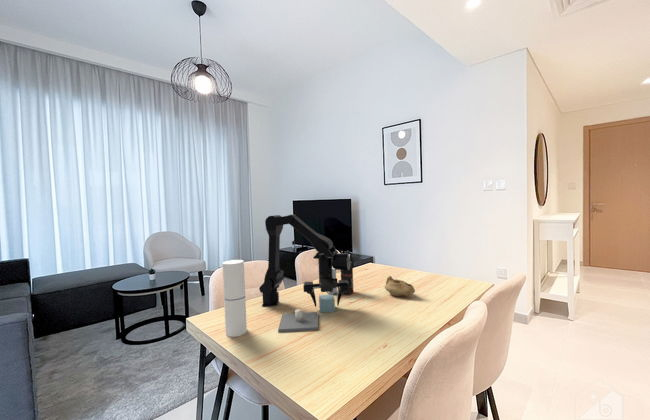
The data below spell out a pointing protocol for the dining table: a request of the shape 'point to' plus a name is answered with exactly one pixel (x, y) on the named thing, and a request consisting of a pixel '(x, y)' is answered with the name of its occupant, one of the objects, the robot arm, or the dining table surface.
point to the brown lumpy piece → (398, 287)
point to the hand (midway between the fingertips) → (326, 306)
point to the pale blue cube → (326, 303)
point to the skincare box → (333, 278)
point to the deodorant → (348, 279)
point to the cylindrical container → (234, 297)
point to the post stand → (298, 321)
